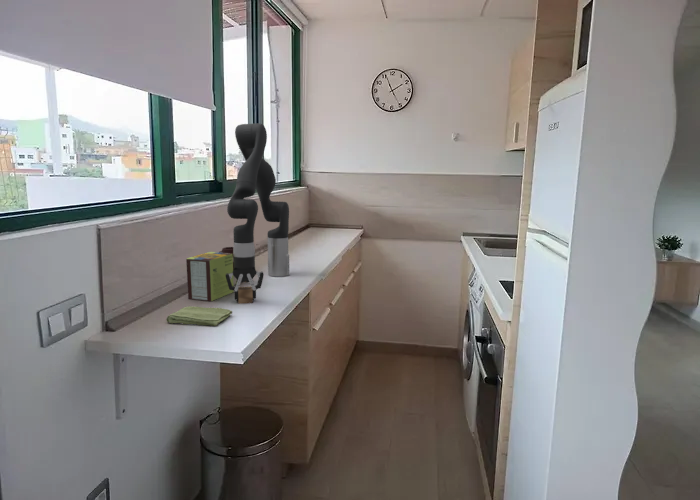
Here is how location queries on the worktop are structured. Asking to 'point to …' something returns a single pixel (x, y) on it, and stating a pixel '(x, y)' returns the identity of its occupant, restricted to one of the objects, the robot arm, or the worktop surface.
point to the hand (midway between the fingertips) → (245, 300)
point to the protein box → (209, 275)
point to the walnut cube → (245, 295)
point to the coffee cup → (230, 250)
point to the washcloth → (199, 316)
